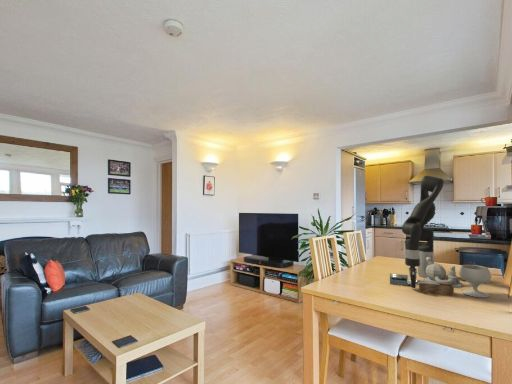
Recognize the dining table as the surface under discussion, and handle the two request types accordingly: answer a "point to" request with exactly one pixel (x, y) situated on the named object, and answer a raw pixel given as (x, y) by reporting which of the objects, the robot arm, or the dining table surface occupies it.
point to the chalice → (475, 278)
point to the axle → (423, 282)
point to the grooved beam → (437, 289)
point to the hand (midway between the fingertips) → (413, 286)
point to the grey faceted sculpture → (441, 274)
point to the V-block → (398, 279)
